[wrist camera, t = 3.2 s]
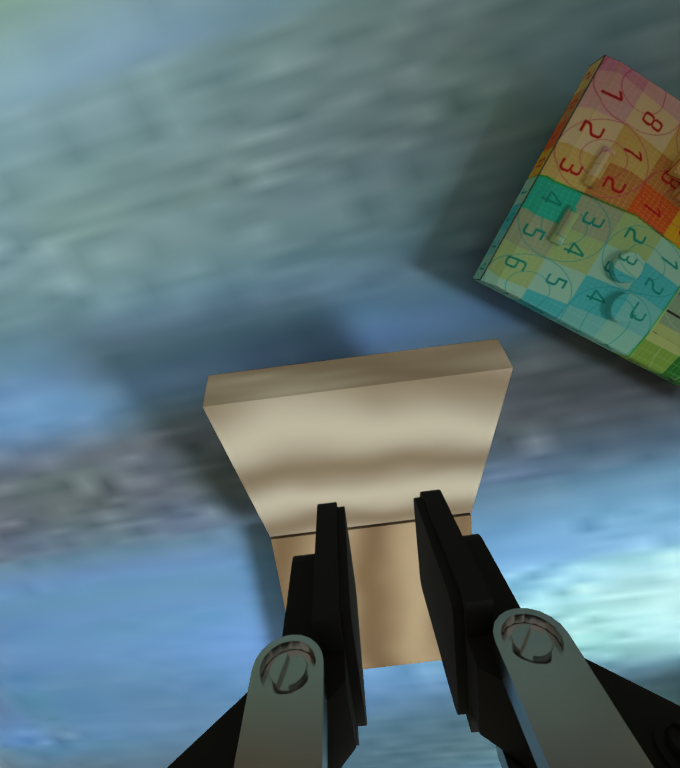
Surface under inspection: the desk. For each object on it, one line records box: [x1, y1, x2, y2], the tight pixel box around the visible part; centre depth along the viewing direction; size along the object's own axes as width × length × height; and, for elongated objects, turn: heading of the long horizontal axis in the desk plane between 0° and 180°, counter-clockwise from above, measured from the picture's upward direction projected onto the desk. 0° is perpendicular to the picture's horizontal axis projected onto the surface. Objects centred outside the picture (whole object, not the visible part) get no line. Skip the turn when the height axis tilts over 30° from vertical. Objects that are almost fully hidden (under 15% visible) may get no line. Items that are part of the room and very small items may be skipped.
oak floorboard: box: [271, 513, 472, 669], centre depth 32 cm, size 14×13×2 cm
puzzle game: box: [473, 55, 680, 387], centre depth 24 cm, size 12×5×20 cm
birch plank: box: [203, 339, 513, 537], centre depth 24 cm, size 14×14×2 cm
